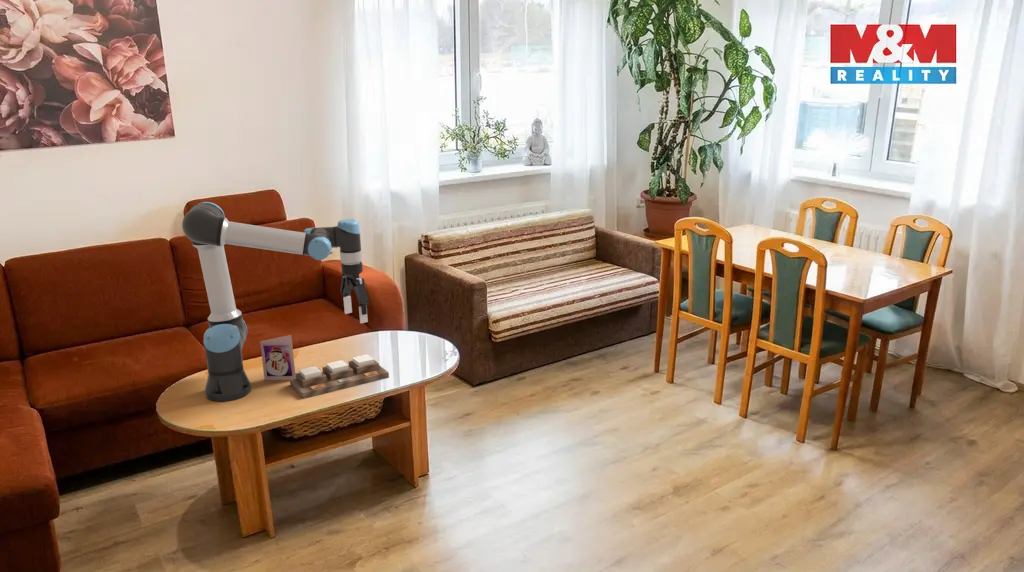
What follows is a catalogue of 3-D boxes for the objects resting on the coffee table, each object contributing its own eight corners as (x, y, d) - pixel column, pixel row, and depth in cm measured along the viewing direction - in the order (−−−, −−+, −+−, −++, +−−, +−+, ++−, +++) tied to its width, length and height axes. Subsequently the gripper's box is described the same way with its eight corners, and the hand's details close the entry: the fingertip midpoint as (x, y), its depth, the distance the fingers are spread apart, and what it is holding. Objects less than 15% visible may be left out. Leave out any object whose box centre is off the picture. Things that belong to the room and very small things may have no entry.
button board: (303, 398, 272) (302, 386, 271) (290, 384, 283) (289, 373, 282) (388, 377, 289) (388, 365, 287) (373, 365, 300) (372, 354, 299)
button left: (305, 381, 277) (305, 375, 276) (299, 376, 282) (299, 369, 281) (322, 377, 280) (321, 371, 279) (316, 372, 285) (315, 366, 284)
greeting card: (263, 381, 287) (259, 342, 283) (269, 372, 294) (265, 334, 290) (295, 380, 287) (291, 341, 282) (300, 372, 294) (296, 334, 290)
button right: (359, 368, 287) (358, 362, 287) (352, 363, 292) (352, 357, 291) (374, 365, 290) (374, 359, 290) (367, 360, 295) (367, 354, 295)
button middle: (332, 375, 282) (332, 368, 281) (326, 369, 287) (326, 363, 286) (348, 371, 285) (348, 365, 285) (342, 366, 290) (342, 360, 289)
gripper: (376, 267, 279) (380, 324, 285) (346, 253, 299) (351, 307, 305) (356, 271, 275) (361, 328, 281) (328, 257, 295) (332, 311, 301)
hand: (356, 317), depth 293 cm, fingers open, 13 cm apart
